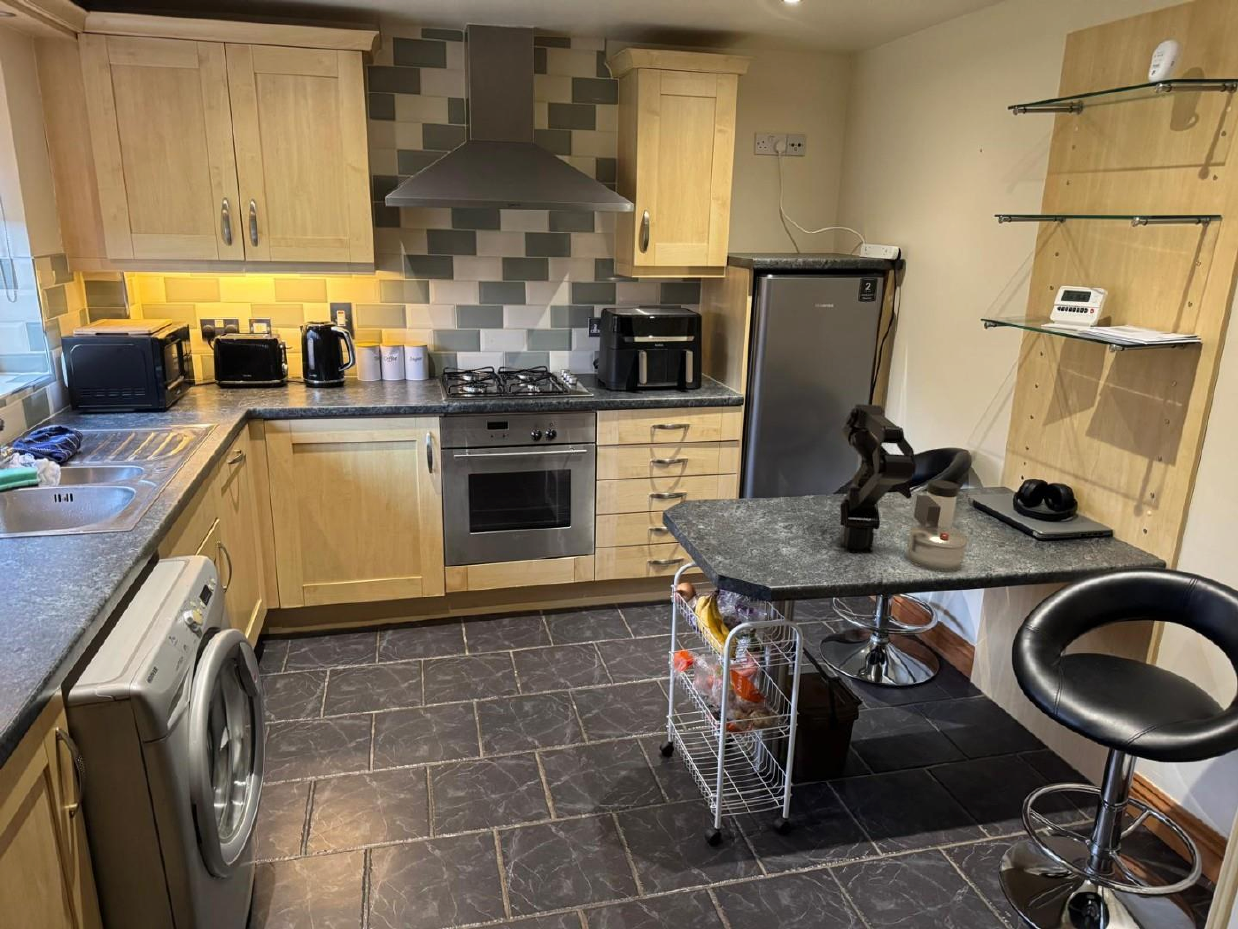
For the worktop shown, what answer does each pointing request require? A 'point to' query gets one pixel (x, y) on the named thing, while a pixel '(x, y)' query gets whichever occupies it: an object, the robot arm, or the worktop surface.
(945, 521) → the jar
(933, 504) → the cooker lid
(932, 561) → the cooker pot
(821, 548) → the worktop surface
